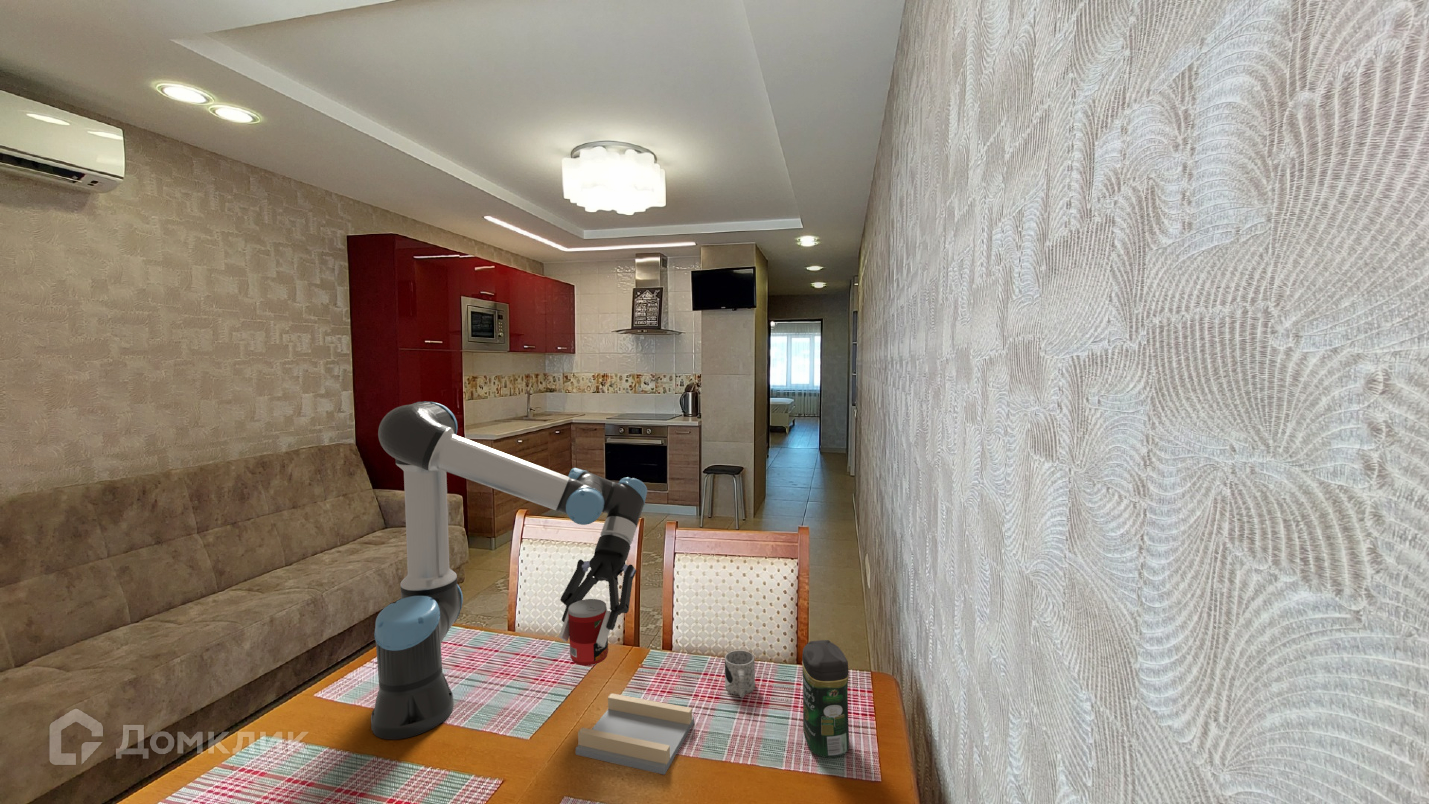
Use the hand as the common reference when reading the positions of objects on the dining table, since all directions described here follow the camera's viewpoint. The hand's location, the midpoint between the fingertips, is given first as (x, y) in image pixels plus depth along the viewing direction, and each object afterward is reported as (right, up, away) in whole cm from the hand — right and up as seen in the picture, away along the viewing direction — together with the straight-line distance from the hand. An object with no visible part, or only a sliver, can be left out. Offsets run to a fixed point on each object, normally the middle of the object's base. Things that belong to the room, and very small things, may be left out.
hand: (581, 641), depth 116 cm
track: (+12, -16, -6) cm, 21 cm away
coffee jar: (+48, -16, -9) cm, 52 cm away
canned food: (+1, -5, +3) cm, 6 cm away
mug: (+33, -15, +9) cm, 37 cm away
